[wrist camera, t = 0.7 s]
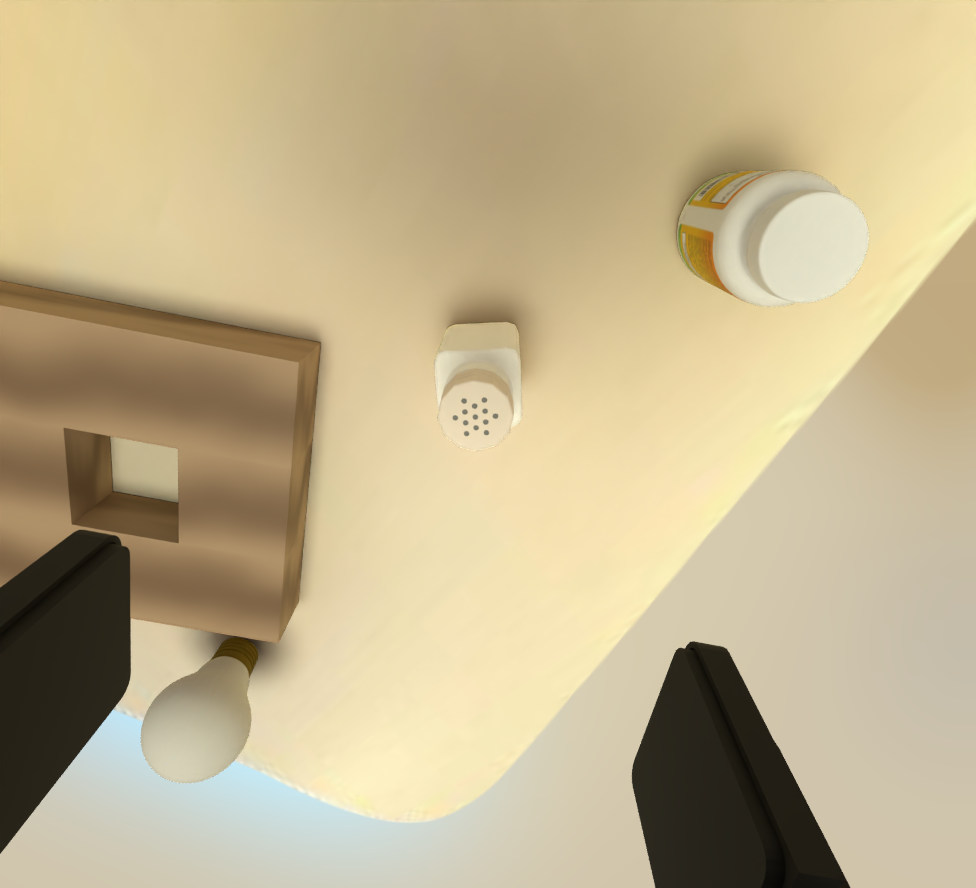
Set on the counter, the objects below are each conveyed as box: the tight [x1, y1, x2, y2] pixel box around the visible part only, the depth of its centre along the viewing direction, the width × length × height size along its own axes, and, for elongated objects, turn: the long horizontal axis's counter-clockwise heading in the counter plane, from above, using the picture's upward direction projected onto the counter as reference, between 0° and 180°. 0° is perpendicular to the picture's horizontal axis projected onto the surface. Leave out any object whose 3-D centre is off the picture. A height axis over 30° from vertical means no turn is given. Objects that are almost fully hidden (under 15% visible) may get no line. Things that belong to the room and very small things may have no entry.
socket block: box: [0, 281, 321, 643], centre depth 36 cm, size 18×18×4 cm
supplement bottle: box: [677, 170, 869, 307], centre depth 27 cm, size 5×5×10 cm
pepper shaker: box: [434, 322, 522, 451], centre depth 30 cm, size 4×4×10 cm
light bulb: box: [141, 637, 258, 783], centre depth 39 cm, size 6×6×10 cm
